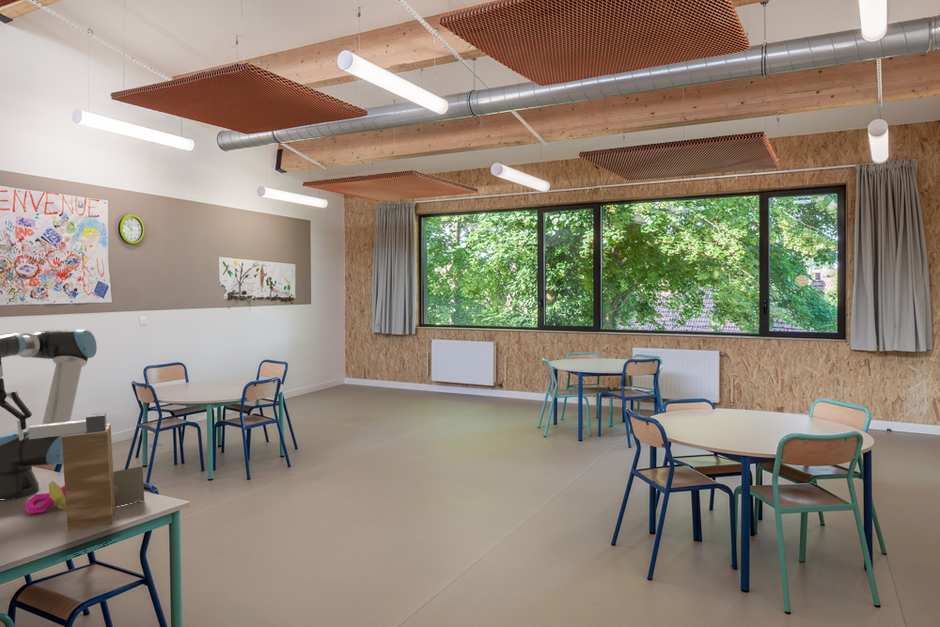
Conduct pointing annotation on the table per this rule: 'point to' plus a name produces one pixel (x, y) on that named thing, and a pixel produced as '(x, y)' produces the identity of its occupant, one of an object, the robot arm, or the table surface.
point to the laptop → (128, 486)
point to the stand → (88, 479)
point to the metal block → (70, 427)
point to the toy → (47, 499)
